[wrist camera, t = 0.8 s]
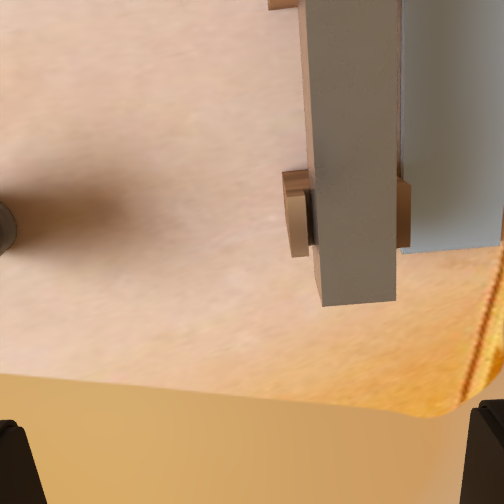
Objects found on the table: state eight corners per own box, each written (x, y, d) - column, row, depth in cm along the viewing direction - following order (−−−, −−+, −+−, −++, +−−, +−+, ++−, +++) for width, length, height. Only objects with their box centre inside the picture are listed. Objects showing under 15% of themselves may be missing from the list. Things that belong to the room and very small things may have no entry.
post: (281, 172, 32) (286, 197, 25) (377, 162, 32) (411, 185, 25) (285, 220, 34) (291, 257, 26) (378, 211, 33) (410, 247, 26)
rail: (288, -152, 21) (293, -203, 17) (374, -165, 21) (398, -219, 17) (314, 277, 29) (322, 306, 25) (378, 272, 28) (395, 300, 25)
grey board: (402, -140, 26) (406, -146, 25) (527, -157, 26) (535, -164, 25) (399, 250, 34) (402, 254, 33) (494, 242, 34) (500, 245, 33)
